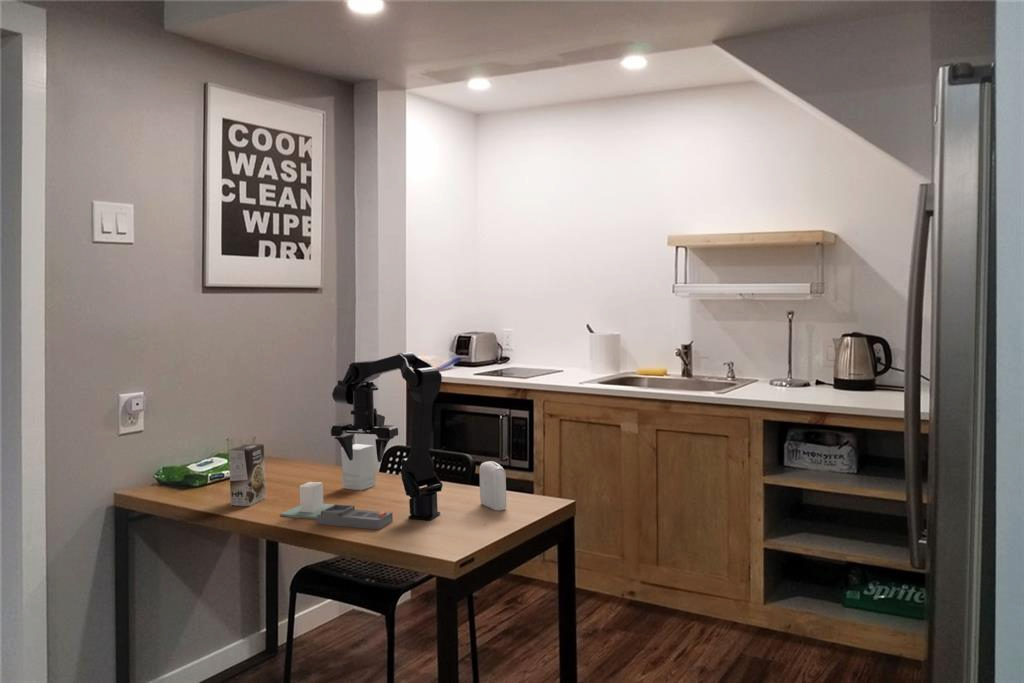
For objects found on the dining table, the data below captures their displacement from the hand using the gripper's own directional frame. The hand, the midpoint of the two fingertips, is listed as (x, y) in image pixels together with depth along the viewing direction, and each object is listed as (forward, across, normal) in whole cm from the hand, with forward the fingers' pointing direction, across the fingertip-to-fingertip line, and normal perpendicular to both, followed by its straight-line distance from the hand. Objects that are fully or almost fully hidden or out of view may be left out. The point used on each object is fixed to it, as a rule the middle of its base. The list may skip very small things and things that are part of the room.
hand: (365, 461), depth 227 cm
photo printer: (+12, -36, -6) cm, 38 cm away
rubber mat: (+12, +10, +12) cm, 20 cm away
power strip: (+12, -7, +18) cm, 23 cm away
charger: (+11, +10, +12) cm, 19 cm away
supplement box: (+12, +12, -16) cm, 23 cm away
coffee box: (+12, +34, +8) cm, 37 cm away
